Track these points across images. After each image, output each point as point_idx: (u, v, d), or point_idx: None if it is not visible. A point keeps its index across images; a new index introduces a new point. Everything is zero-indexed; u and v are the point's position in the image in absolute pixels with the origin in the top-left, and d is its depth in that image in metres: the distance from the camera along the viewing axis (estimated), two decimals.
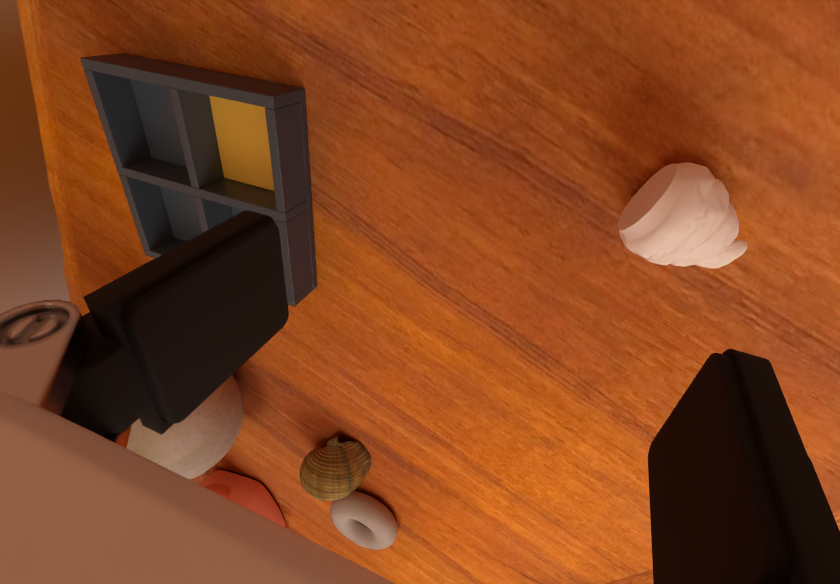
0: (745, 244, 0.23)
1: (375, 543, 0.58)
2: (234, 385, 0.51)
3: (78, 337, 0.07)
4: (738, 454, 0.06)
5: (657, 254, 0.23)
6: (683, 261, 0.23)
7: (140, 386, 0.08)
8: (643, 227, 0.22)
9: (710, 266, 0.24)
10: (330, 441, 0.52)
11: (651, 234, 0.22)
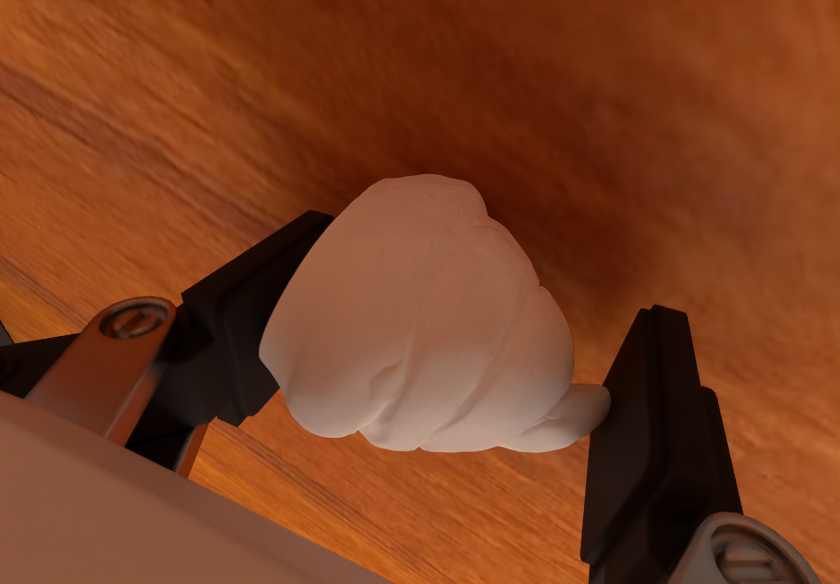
0: (600, 403, 0.08)
1: None
2: None
3: (177, 332, 0.07)
4: (644, 385, 0.07)
5: (360, 430, 0.08)
6: None
7: (224, 380, 0.08)
8: (274, 374, 0.07)
9: (520, 451, 0.09)
10: None
11: (288, 400, 0.07)
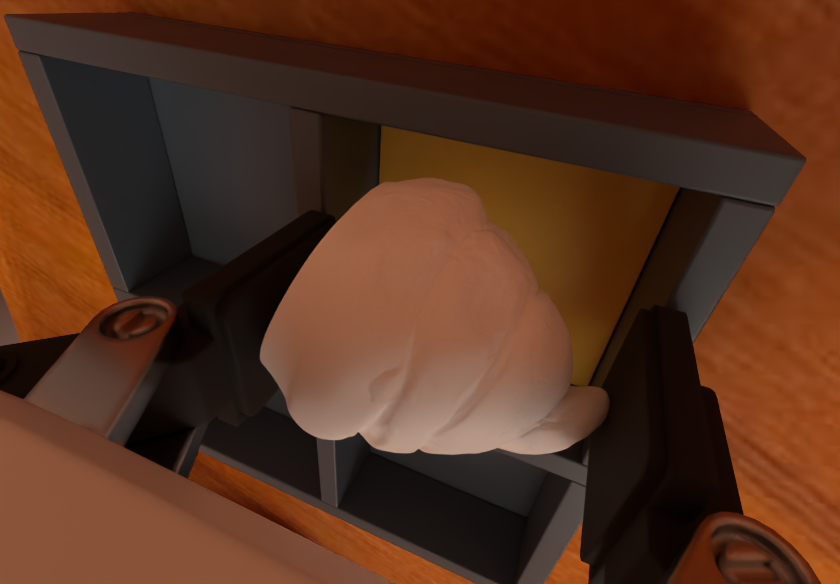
0: (599, 406, 0.08)
1: None
2: None
3: (177, 331, 0.07)
4: (644, 385, 0.07)
5: (360, 433, 0.08)
6: None
7: (224, 379, 0.08)
8: (275, 377, 0.07)
9: (519, 453, 0.09)
10: None
11: (288, 403, 0.07)
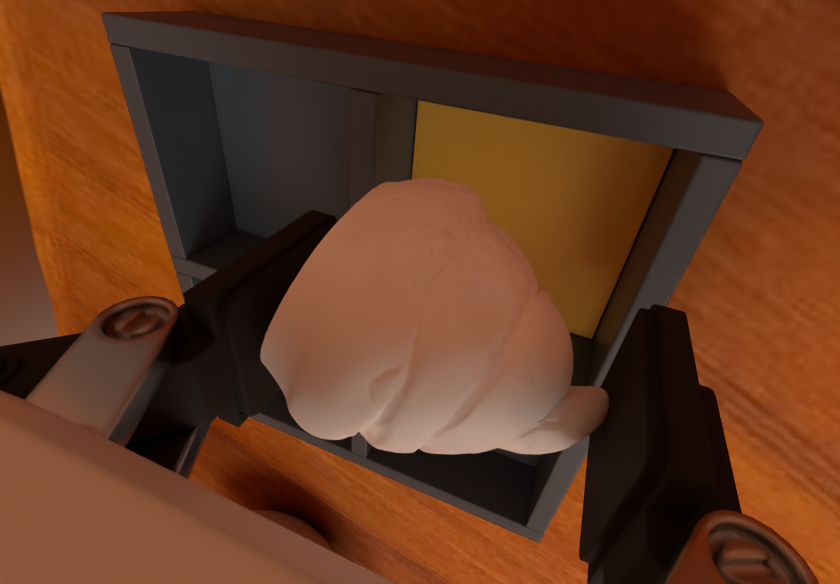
0: (599, 405, 0.08)
1: None
2: None
3: (179, 331, 0.07)
4: (642, 384, 0.07)
5: (360, 432, 0.08)
6: None
7: (226, 379, 0.08)
8: (275, 377, 0.07)
9: (519, 453, 0.09)
10: None
11: (288, 403, 0.07)
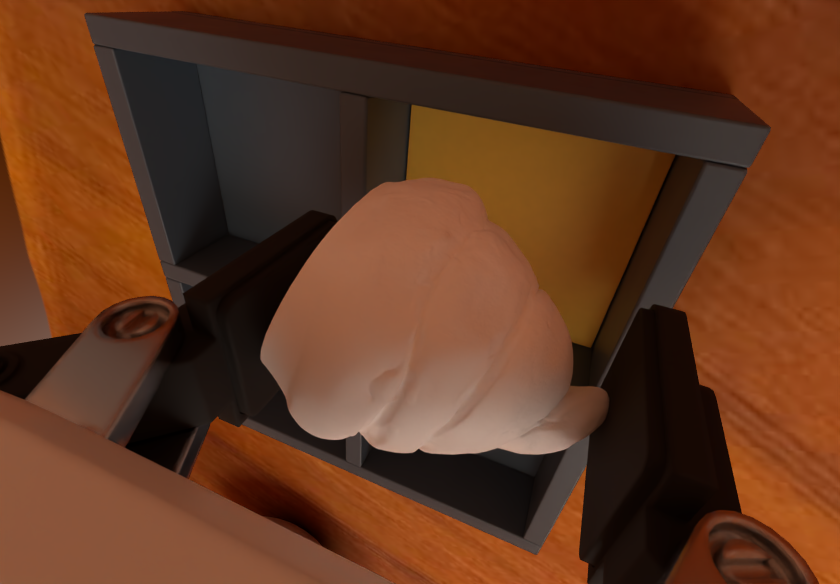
0: (598, 406, 0.08)
1: None
2: None
3: (179, 331, 0.07)
4: (643, 384, 0.07)
5: (360, 432, 0.08)
6: None
7: (226, 379, 0.08)
8: (275, 377, 0.07)
9: (519, 453, 0.09)
10: None
11: (289, 403, 0.07)
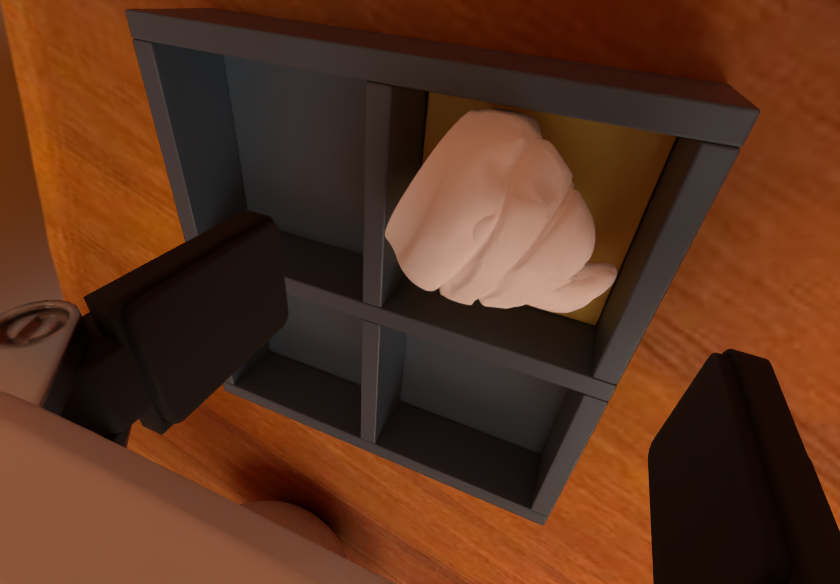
0: (610, 271, 0.12)
1: None
2: None
3: (78, 337, 0.07)
4: (738, 454, 0.06)
5: (444, 286, 0.12)
6: (494, 301, 0.12)
7: (140, 386, 0.08)
8: (399, 233, 0.11)
9: (551, 310, 0.13)
10: None
11: (410, 249, 0.11)
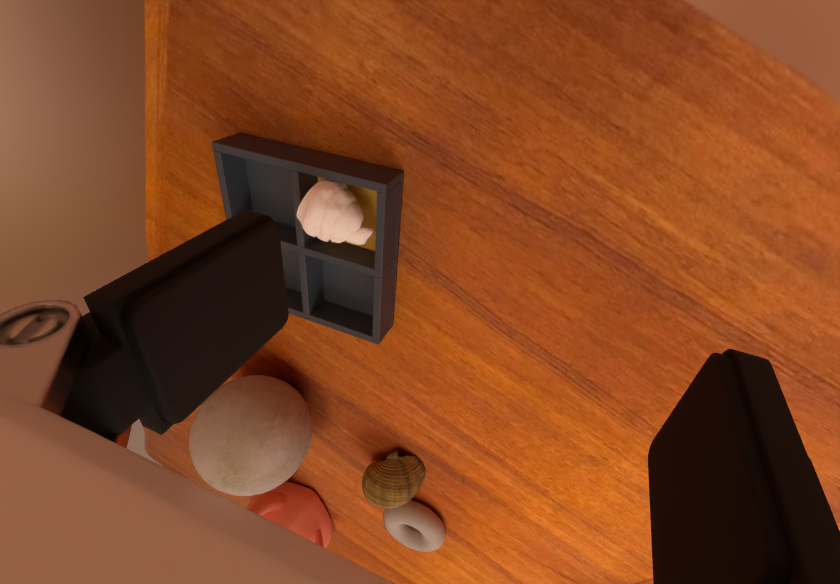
0: (369, 229, 0.37)
1: (426, 546, 0.64)
2: (305, 405, 0.58)
3: (78, 337, 0.07)
4: (738, 454, 0.06)
5: (317, 234, 0.38)
6: (333, 239, 0.38)
7: (140, 386, 0.08)
8: (299, 217, 0.37)
9: (354, 243, 0.38)
10: (390, 455, 0.58)
11: (302, 221, 0.36)
